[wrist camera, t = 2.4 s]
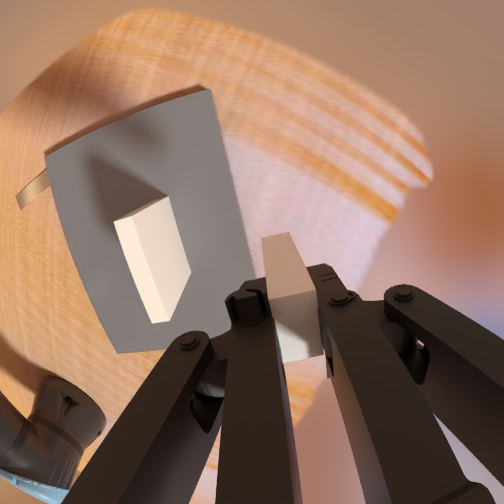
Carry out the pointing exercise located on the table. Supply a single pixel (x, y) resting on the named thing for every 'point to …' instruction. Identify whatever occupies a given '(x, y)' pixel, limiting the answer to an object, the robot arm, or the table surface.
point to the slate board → (141, 193)
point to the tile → (155, 257)
